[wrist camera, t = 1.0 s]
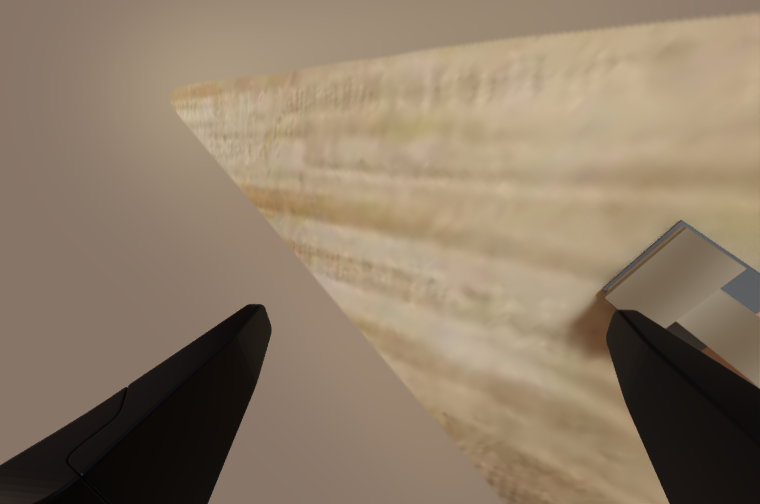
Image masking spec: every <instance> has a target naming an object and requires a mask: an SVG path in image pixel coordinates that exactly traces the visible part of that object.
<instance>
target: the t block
mask: <svg viewBox="0 0 760 504" xmlns="http://www.w3.org/2000/svg"><path fill="white" fill-rule="evenodd" d="M746 269H747V268H745V267H744V266H742V265H741V264H739V263H738V262H736V261H735V260H733V259H732V258H731V257H729V256H728V255H726V254H725V253H723V252H722V251H720V250H719V249H717V248H716V247H714V246H713V245H712V244H710V243H709V242H707V241H706V240H704V239H703V238H701V237H700V236H698V235H697V234H695V233H694V232H693V231H691V230H690V229H688V228H686V227H682V226H680V227H679V228H678V229H677V230H675V231H674V232H673V233H672V234H671V235H670V236H668V237H667V238H666V239H665V240H664V241H663V242H661V243H660V244H659V245H658V246H657V247H656V248H654V249H653V250H652V251H651V252H650V253H649V254H648V255H646V256H645V257H644V258H643V259H642V260H641V261H639V262H638V263H637V264H636V265H635V266H634V267H632V268H631V269H630V270H629V271H628V272H627V273H626V274H624V275H623V276H622V277H621V278H620V279H619V280H617V281H616V282H615V283H614V284H613V285H612V286H610V287H609V288H608V291H607V293H606V295H605V299H606V300H607V301H609V302H610V303H611V304H612V305H613V306H615V307H616V308H617V309H618V310H619V309H630V310H637V311H638V312H640V313H642V314H643V315H645V316H646V317H648V318H649V319H651V320H653V321H654V322H656V323H657V324H659V325H661V326H662V327H664V328H665V329H666V328H667V327H668V326H670V325H671V324H673V323H674V322H675V321H676V322H678V323H679V324H680V325H681V326H683V327H684V328H685V329H686V330H688V331H689V332H690V333H692V334H693V335H694V336H695V337H697V338H698V339H699V340H700V341H702V342H703V343H704V344H705V345H707V346H708V347H709V348H710V349H712V350H713V351H714V352H715V353H717V354H718V355H719V356H720V357H722V358H723V359H724V360H725V361H727V362H728V363H729V364H730V365H732V366H733V367H734V368H735V369H737V370H738V371H739V372H740V373H742V374H743V375H744V376H745V377H747V378H748V379H749V380H750V381H752V382H753V383H754V384H755V385H757V386H758V387H759V388H760V317H759V316H757V315H756V314H755V313H753V312H752V311H751V310H749V309H748V308H746V307H745V306H744V305H742V304H741V303H740V302H738V301H737V300H735V299H734V298H733V297H731V296H730V295H729V294H727V293H726V292H724V291H723V290H722V289H720V288H721V287H723V286H724V285H725V284H727V283H728V282H730V281H731V280H732V279H734V278H735V277H736V276H738V275H739V274H740V273H742V272H743V271H745V270H746Z"/></svg>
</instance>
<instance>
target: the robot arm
mask: <svg viewBox="0 0 760 504" xmlns="http://www.w3.org/2000/svg"><path fill="white" fill-rule="evenodd" d="M270 336H271V324H270V321H269V318H268V315H267V312H266V309H265V307H264V306H263V305H261V304H249V305H246V306H245V307H243V308H242V309H240V310H239V311H237V312H236V313H235V314H233V315H232V316H230V317H229V318H227V319H226V320H224V321H223V322H221V323H220V324H218V325H217V326H215V327H214V328H212V329H211V330H210V331H208V332H206V333H205V334H204V335H202V336H201V337H199V338H198V339H196V340H195V341H193V342H192V343H190V344H189V345H187V346H186V347H184V348H183V349H181V350H180V351H178V352H177V353H175V354H174V355H172V356H171V357H169V358H168V359H166V360H165V361H164V362H162V363H161V364H159V365H158V366H156V367H155V368H153V369H152V370H150V371H149V372H147V373H146V374H144V375H143V376H142V377H140V378H138V379H137V380H135V381H134V382H132V383H131V384H130V385H129V386H128V387H125V388H123V389H122V390H121V391H119V392H118V393H116V394H115V395H113V396H112V397H110V398H109V399H107V400H106V401H104V402H102V403H101V404H99V405H98V406H96V407H95V408H93V409H92V410H90V411H89V412H87V413H86V414H84V415H82V416H81V417H79V418H78V419H76V420H74V421H73V422H71V423H69V424H68V425H66V426H64V427H63V428H61V429H60V430H58V431H56V432H55V433H53V434H51V435H50V436H48V437H46V438H45V439H43V440H41V441H40V442H38V443H36V444H35V445H33V446H31V447H30V448H28V449H26V450H25V451H23V452H21V453H20V454H18V455H16V456H15V457H13V458H11V459H10V460H8V461H6V462H5V463H3V464H2V465H0V504H208V502H209V499H210V497H211V494H212V492H213V489H214V487H215V484H216V482H217V480H218V477H219V474H220V472H221V470H222V467H223V465H224V462H225V460H226V458H227V455H228V453H229V450H230V448H231V445H232V443H233V440H234V438H235V436H236V433H237V431H238V428H239V426H240V423H241V421H242V419H243V416H244V413H245V411H246V409H247V406H248V403H249V401H250V399H251V396H252V394H253V392H254V389H255V386H256V384H257V380H258V378H259V374H260V371H261V367H262V364H263V361H264V357H265V354H266V350H267V347H268V343H269V340H270ZM606 341H607V345H608V349H609V352H610V355H611V358H612V362H613V365H614V368H615V371H616V375H617V378H618V381H619V384H620V388H621V391H622V394H623V397H624V400H625V403H626V405H627V408H628V410H629V412H630V415H631V417H632V419H633V422H634V424H635V426H636V428H637V431H638V433H639V435H640V437H641V440H642V442H643V444H644V447H645V449H646V451H647V453H648V456H649V458H650V460H651V463H652V465H653V467H654V469H655V472H656V474H657V476H658V478H659V481H660V483H661V485H662V488H663V490H664V492H665V494H666V497H667V499H668V501H669V503H670V504H760V388H758V387H757V386H755V385H753V384H752V383H750V382H749V381H747V380H746V379H744V378H742V377H741V376H739V375H738V374H736V373H734V372H733V371H731V370H730V369H728V368H727V367H725V366H723V365H722V364H720V363H719V362H717V361H716V360H714V359H712V358H711V357H709V356H708V355H706V354H705V353H703V352H701V351H700V350H698V349H697V348H695V347H694V346H692V345H690V344H689V343H687V342H686V341H684V340H683V339H681V338H679V337H678V336H676V335H675V334H673V333H672V332H670V331H668V330H667V329H665V328H664V327H662V326H661V325H659V324H657V323H656V322H654V321H653V320H651V319H649V318H648V317H646V316H645V315H643V314H642V313H640V312H638V311H637V310H630V309H619V310H616V311H615V312H614V314H613V316H612V319H611V322H610V325H609V328H608V331H607V335H606Z"/></svg>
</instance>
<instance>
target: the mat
mask: <svg viewBox="0 0 760 504" xmlns="http://www.w3.org/2000/svg"><path fill="white" fill-rule="evenodd" d="M680 226H682V227H686V228H688V229H690V230H691V231H693V232H694V233H695V234H697V235H698V236H700V237H701V238H703V239H704V240H706V241H707V242H709V243H710V244H712V245H713V246H714V247H716V248H717V249H719V250H720V251H722V252H723V253H725V254H726V255H728V256H729V257H731V258H732V259H733V260H735V261H736V262H738V263H739V264H741V265H742V266H744V267H745V268H747V269H746V270H745V271H743V272H742V273H740V274H739V275H738V276H736V277H735V278H734V279H732V280H731V281H730V282H728V283H727V284H725V285H724V286H723V287H721V288H720V289H722V290H723V291H724V292H726V293H727V294H729V295H730V296H731V297H733V298H734V299H735V300H737V301H738V302H740V303H741V304H742V305H744V306H745V307H746V308H748V309H749V310H751V311H752V312H753V313H755V314H756V315H757V316H759V317H760V273H759V272H757V271H756V270H754V269H753V268H751V267H750V266H749V265H747V264H746V263H744V262H743V261H741V260H740V259H738V258H737V257H735V256H734V255H732V254H731V253H729V252H728V251H726V250H725V249H724V248H722V247H721V246H719V245H718V244H716V243H715V242H713V241H712V240H710V239H709V238H707V237H706V236H704V235H703V234H701V233H700V232H699V231H697V230H696V229H694V228H693V227H691V226H690V225H688V224H687V223H685V222H684V221H682V220H680V221H679V222H678V223H677V224H676V225H674V226H673V227H672V228H671V229H670V230H669V231H667V232H666V233H665V234H664V235H663V236H662V237H661V238H659V239H658V240H657V241H656V242H655V243H654V244H653V245H651V246H650V247H649V248H648V249H647V250H646V251H644V252H643V253H642V254H641V255H640V256H639V257H638V258H636V259H635V260H634V261H633V262H632V263H631V264H630V265H628V266H627V267H626V268H625V269H624V270H623V271H622V272H620V273H619V274H618V275H617V276H616V277H615V278H613V279H612V280H611V281H610V282H609V283H608V284H607V285H605V286H604V288H603V290H604V291H605V292H607V291H608V288H609V287H610V286H612V285H613V284H614V283H615V282H616V281H617V280H619V279H620V278H621V277H622V276H623V275H624V274H626V273H627V272H628V271H629V270H630V269H631V268H632V267H634V266H635V265H636V264H637V263H638V262H639V261H641V260H642V259H643V258H644V257H645V256H646V255H648V254H649V253H650V252H651V251H652V250H653V249H654V248H656V247H657V246H658V245H659V244H660V243H661V242H663V241H664V240H665V239H666V238H667V237H668V236H670V235H671V234H672V233H673V232H674V231H675V230H677V229H678V228H679V227H680ZM666 329H667V330H668V331H670V332H672V333H673V334H675V335H676V336H678V337H679V338H681V339H683V340H684V341H686V342H687V343H689V344H690V345H692V346H694V347H695V348H697V349H698V350H700V351H701V352H703V353H705V354H706V355H708V356H709V357H711V358H712V359H714V360H716V361H717V362H719V363H720V364H722V365H723V366H725V367H727V368H728V369H730V370H731V371H733V372H734V373H736V374H738V375H739V376H741V377H742V378H744V379H746V380H747V381H749V382H750V383H752V384H753V385H755V384H754V383H753V382H752V381H750V380H749V379H748V378H747V377H745V376H744V375H743V374H742V373H740V372H739V371H738V370H737V369H735V368H734V367H733V366H732V365H730V364H729V363H728V362H727V361H725V360H724V359H723V358H722V357H720V356H719V355H718V354H717V353H715V352H714V351H713V350H712V349H710V348H709V347H708V346H707V345H705V344H704V343H703V342H702V341H700V340H699V339H698V338H697V337H695V336H694V335H693V334H692V333H690V332H689V331H688V330H686V329H685V328H684V327H683V326H681V325H680V324H679V323H678V322H676V321H675V322H674V323H673V324H671V325H670V326H668V327H667V328H666ZM755 386H757V385H755ZM757 387H758V386H757ZM758 388H759V387H758Z"/></svg>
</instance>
